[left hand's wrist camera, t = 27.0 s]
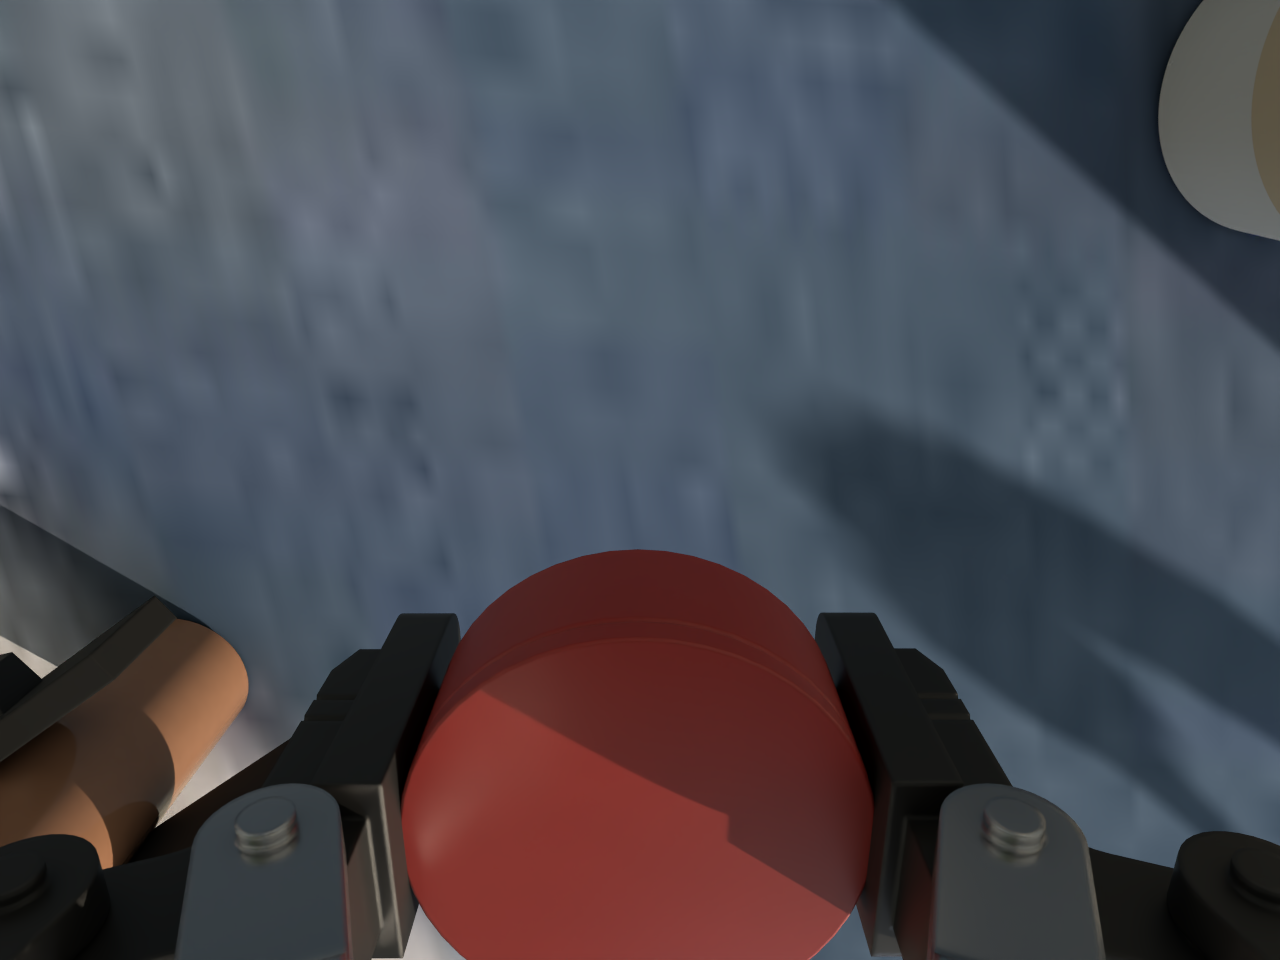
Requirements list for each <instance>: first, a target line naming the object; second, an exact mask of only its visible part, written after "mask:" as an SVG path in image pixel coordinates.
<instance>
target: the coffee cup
mask: <svg viewBox="0 0 1280 960" xmlns="http://www.w3.org/2000/svg"><path fill="white" fill-rule="evenodd" d="M1158 124H1159V136H1160V144H1161V148H1162V153H1163V156H1164V160H1165V163H1166V166H1167V168H1168V171H1169V173H1170V175H1171V177H1172V179H1173V181H1174V183H1175V185H1176V186H1177V188H1178V189H1179V191H1180V192H1181V193H1182V195H1183V196H1184V197H1185V199H1186V200H1187V201H1188V202H1189V203H1190V204H1191V205H1192V206H1193V207H1194V208H1195V209H1196V210H1198V211H1199V212H1200V213H1201V214H1203V215H1204V216H1206V217H1207V218H1209V219H1210V220H1212V221H1214V222H1216V223H1218V224H1220V225H1222V226H1225V227H1227V228H1230V229H1233V230H1237V231H1241V232H1245V233H1249V234H1253V235H1258V236H1262V237H1266V238H1270V239H1274V240H1279V241H1280V0H1203V1H1202V3H1201V4H1200V5H1199V7H1198V8H1197V9H1196V11H1195V12H1194V13H1193V15H1192V16H1191V18H1190V19H1189V21H1188V22H1187V24H1186V26H1185V27H1184V29H1183V31H1182V33H1181V35H1180V36H1179V38H1178V40H1177V42H1176V45H1175V47H1174V49H1173V51H1172V54H1171V56H1170V59H1169V62H1168V65H1167V68H1166V71H1165V75H1164V78H1163V83H1162V88H1161V93H1160V100H1159V113H1158Z"/></svg>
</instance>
